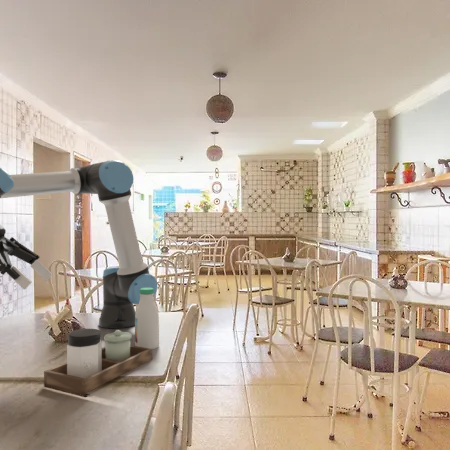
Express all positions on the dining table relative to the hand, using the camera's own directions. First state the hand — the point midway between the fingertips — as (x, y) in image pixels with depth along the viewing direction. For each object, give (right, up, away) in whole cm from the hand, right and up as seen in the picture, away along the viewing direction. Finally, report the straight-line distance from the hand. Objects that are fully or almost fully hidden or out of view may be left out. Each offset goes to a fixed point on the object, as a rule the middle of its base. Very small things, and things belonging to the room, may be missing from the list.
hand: (39, 281), depth 121 cm
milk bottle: (+28, -25, +17) cm, 41 cm away
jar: (+16, -24, -10) cm, 31 cm away
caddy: (+19, -25, -4) cm, 32 cm away
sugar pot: (+22, -24, +2) cm, 33 cm away
